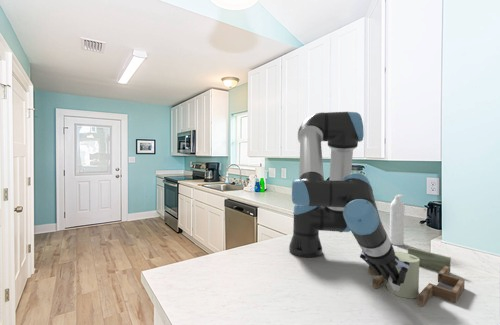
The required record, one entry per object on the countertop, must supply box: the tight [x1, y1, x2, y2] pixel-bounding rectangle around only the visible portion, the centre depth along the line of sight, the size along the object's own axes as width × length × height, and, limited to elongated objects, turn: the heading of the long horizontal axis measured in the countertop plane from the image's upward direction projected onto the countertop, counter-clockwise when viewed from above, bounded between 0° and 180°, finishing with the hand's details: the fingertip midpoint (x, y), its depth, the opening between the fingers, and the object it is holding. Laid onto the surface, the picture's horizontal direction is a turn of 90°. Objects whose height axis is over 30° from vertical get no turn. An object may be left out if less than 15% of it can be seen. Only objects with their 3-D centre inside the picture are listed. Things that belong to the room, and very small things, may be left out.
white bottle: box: [388, 194, 406, 246], centre depth 132 cm, size 9×6×25 cm
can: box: [386, 251, 420, 299], centre depth 85 cm, size 9×9×12 cm
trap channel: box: [368, 246, 465, 307], centre depth 93 cm, size 35×26×6 cm
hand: (397, 287), depth 79 cm, fingers closed
